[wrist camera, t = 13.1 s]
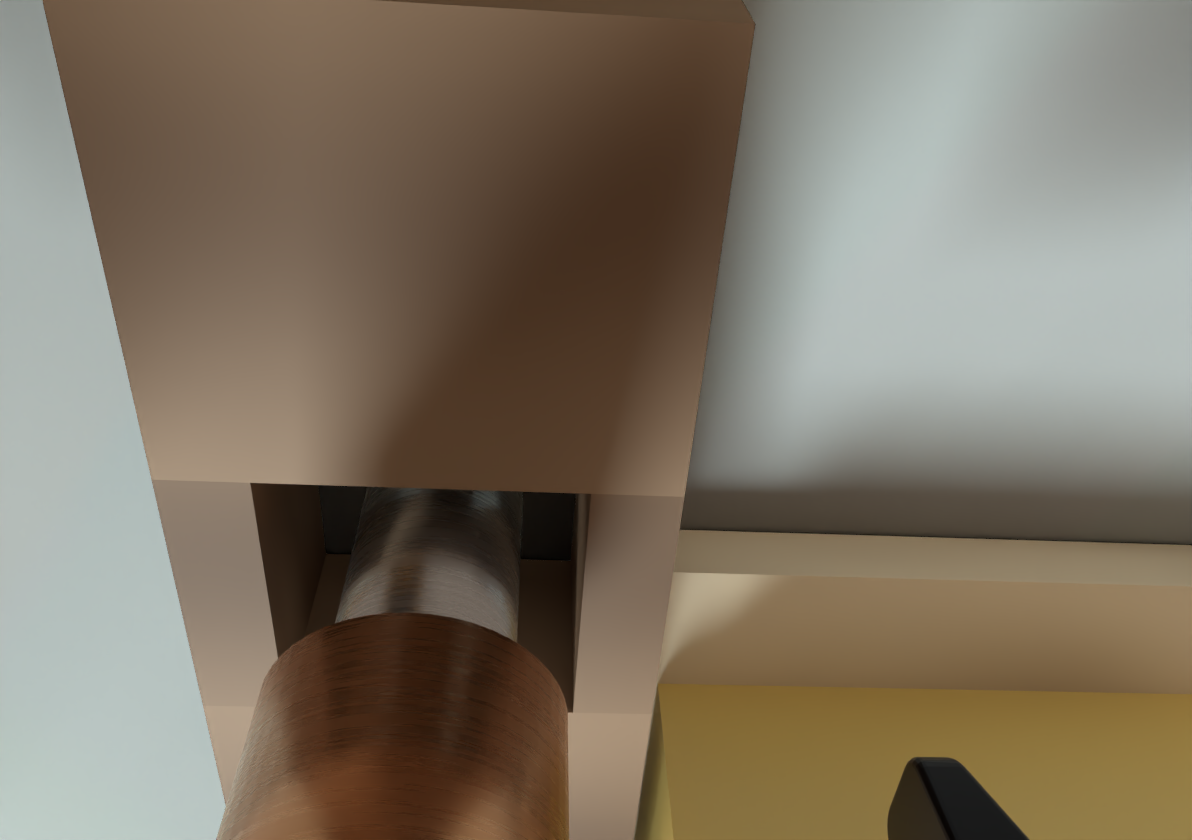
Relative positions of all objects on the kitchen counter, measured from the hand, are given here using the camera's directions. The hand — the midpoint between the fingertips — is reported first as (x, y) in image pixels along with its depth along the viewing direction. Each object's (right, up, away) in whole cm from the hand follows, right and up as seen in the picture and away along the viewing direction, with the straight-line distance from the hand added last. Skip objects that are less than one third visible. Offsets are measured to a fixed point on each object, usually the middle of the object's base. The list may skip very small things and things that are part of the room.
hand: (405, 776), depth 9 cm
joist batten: (0, +1, +5) cm, 5 cm away
